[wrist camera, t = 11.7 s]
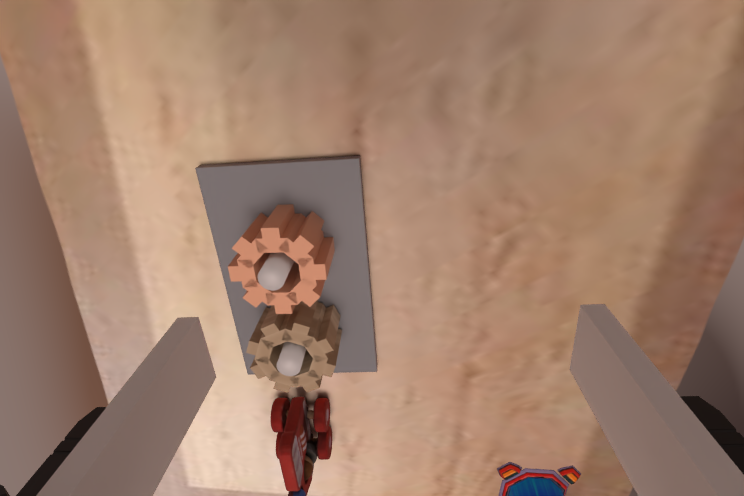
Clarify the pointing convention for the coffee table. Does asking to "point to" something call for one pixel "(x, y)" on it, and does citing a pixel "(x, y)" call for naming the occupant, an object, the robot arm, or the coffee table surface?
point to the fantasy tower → (535, 481)
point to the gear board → (306, 196)
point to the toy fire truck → (300, 440)
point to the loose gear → (297, 242)
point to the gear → (302, 328)
